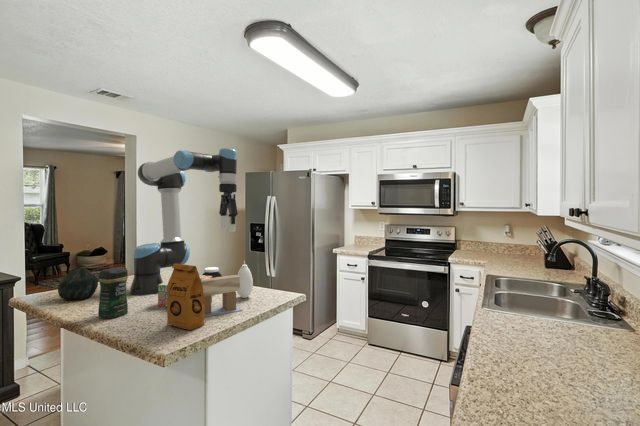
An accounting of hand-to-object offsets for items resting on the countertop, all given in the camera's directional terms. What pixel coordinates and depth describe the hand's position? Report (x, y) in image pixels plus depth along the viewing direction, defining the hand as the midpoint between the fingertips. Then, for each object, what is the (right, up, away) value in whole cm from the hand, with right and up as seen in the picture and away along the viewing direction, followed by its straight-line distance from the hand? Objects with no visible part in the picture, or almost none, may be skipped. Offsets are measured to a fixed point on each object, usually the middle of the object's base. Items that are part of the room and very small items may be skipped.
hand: (227, 230), depth 150 cm
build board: (0, -32, -14) cm, 35 cm away
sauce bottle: (+6, -32, +6) cm, 33 cm away
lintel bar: (0, -25, -14) cm, 29 cm away
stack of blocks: (-17, -32, -6) cm, 37 cm away
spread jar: (-12, -32, +15) cm, 37 cm away
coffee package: (-6, -33, -31) cm, 45 cm away
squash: (-69, -32, +3) cm, 76 cm away
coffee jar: (-39, -32, -20) cm, 54 cm away
